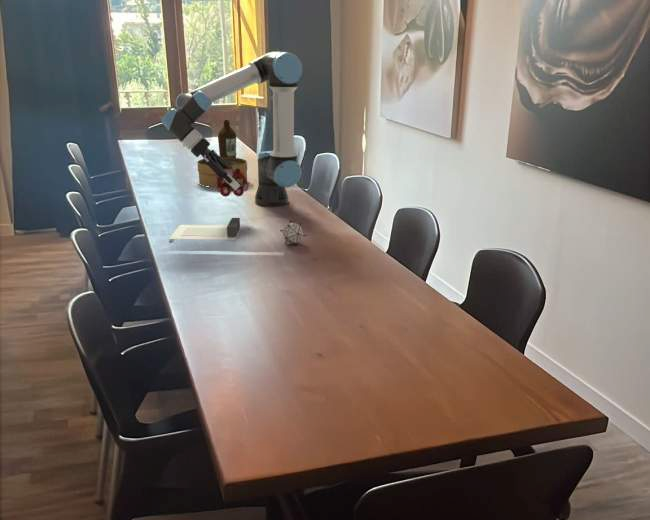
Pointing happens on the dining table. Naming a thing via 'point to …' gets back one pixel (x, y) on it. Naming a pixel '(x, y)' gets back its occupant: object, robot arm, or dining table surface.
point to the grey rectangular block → (233, 227)
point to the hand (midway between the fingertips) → (239, 185)
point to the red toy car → (226, 188)
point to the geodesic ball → (293, 233)
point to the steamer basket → (209, 176)
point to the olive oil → (227, 141)
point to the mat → (202, 232)
